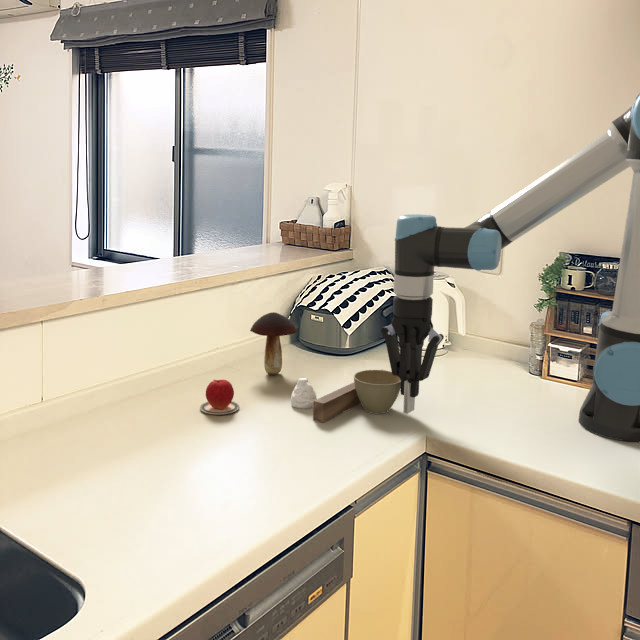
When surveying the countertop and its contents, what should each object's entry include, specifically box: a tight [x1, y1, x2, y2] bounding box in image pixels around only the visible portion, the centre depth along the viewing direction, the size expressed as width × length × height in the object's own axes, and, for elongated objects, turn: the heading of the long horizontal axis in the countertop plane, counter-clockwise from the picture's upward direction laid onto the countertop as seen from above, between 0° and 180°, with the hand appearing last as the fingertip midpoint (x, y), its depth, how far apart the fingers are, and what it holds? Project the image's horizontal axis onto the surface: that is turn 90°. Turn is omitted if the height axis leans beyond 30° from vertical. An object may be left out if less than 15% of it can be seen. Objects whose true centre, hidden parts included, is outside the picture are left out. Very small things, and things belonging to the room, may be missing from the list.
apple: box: [199, 379, 240, 415], centre depth 144 cm, size 8×8×6 cm
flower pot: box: [353, 369, 401, 415], centre depth 145 cm, size 10×10×7 cm
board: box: [312, 369, 387, 424], centre depth 149 cm, size 2×26×4 cm, turn 145°
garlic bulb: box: [290, 377, 318, 410], centre depth 147 cm, size 6×6×5 cm
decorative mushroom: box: [249, 312, 298, 376], centre depth 165 cm, size 11×11×15 cm
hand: (408, 411), depth 142 cm, fingers closed
